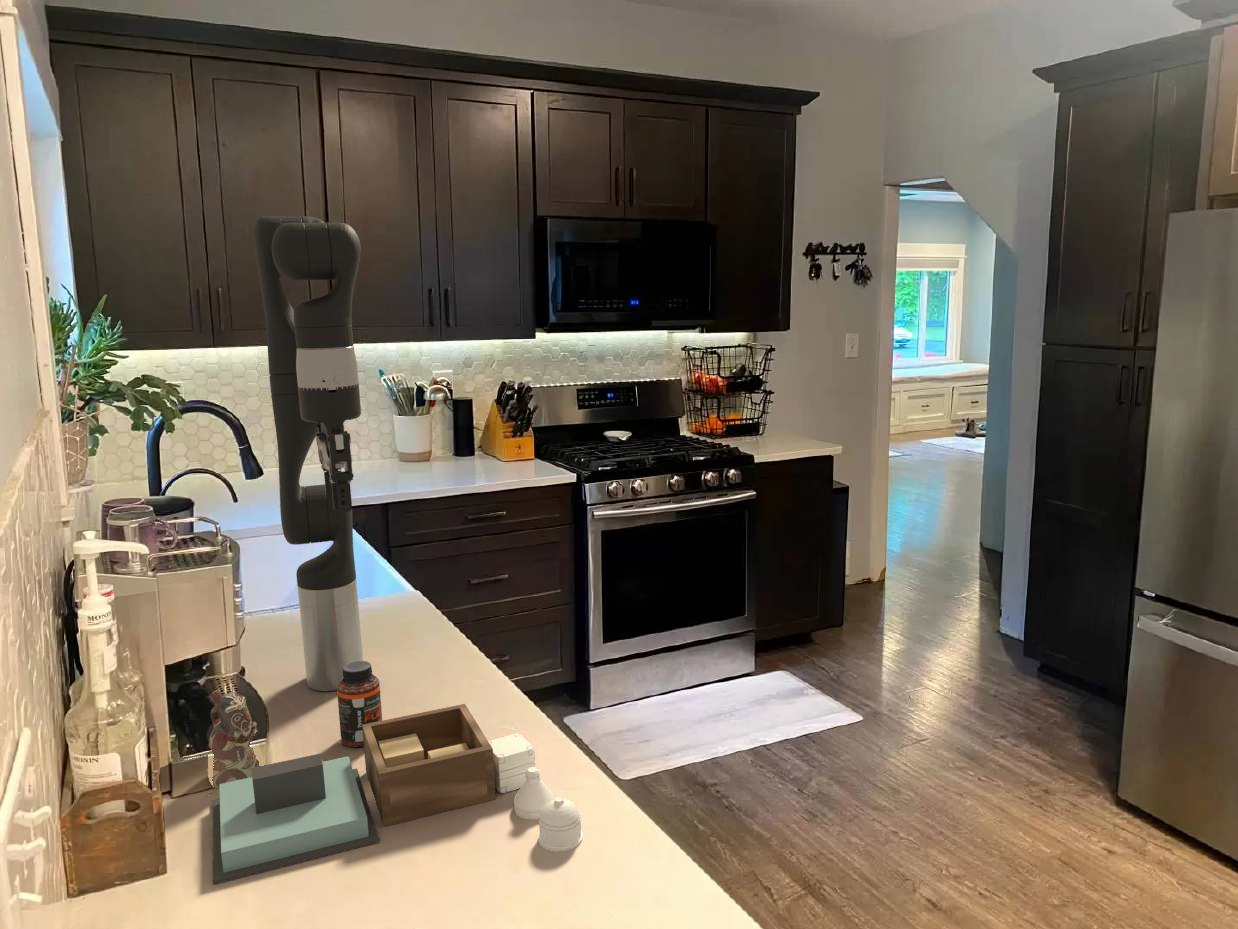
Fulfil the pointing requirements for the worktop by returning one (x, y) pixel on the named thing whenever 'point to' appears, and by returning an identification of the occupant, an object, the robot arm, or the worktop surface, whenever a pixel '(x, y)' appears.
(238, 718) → the figurine
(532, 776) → the container set
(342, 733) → the supplement bottle
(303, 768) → the lid
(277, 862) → the mat
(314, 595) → the robot arm
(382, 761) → the box
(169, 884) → the worktop surface
